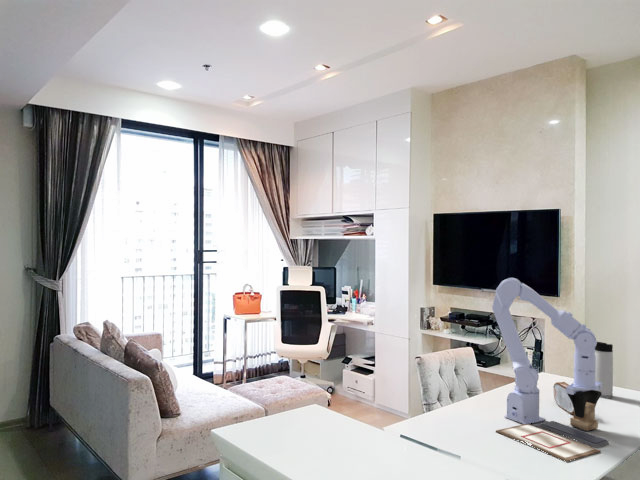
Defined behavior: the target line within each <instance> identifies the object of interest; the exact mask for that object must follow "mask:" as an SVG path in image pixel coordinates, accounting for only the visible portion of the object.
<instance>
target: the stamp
mask: <svg viewBox="0 0 640 480" xmlns="http://www.w3.org/2000/svg"><path fill="white" fill-rule="evenodd" d="M595 416H596V406H595V404H592V403H589V402H586V405H585V412H584V417H583V418H580V417H577V416H576V415H575V412H574V414H573V417H570V420H569V421H570V423H569V425H570V427H572V428H575V429H578V430H581V431H584V432H590V431H594V430H597V429H598V428H599V421H598V420H596V418H595Z"/></svg>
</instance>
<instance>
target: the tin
mask: <svg viewBox="0 0 640 480" xmlns="http://www.w3.org/2000/svg"><path fill="white" fill-rule="evenodd" d="M569 385H570V384H569V383H567V382H565V381H560V382H559V381H558V382H555V383H554V384H553V399H554V402H555V403H556V405H557V406H558V407H559V408H561V409H562V410H564V411H565V412H567V413H568V414H569V413H570V415H574V408H573V404H572V402H571V400H570V398H569V396H568V394H567V393H566V386H569Z"/></svg>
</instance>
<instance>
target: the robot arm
mask: <svg viewBox="0 0 640 480" xmlns="http://www.w3.org/2000/svg"><path fill="white" fill-rule="evenodd" d="M516 298H518V300H521V301H526V302H529V303H530V304H531V305H533V306H535V307H536V309H538V310H539V311H541V312H542V313H543V314H545V315H546V316H548V317H549V318H550V324H551V325H552V327H554V328H555V329H557V331H559V332H560V333H561V334H563V335H564V336H565V337H567V339H569V340H572V341H573V343H574V353H573V382H572V383H571V384H569V386H566V393H567V394H568V396H569V398H570V400H571V402H572V404H573V408H574V412H575V415H576V416H577V417H580V418H583V417H584V412H585V405H586V402H589V403H592V404H595V407H596V406H597V403H598V401H599V400H600V398H601V397H600V396H601V395H602V393H601V392H600V391H597V390H599V389H602V383H601V382H597V381H595V375H596V356H595V347H596V345H597V342H598V341H597V338H596V336H595V334H594V333H593V331H592V330H591V329H590V328H588V327H587V325H586V324H585V323H581V322H580V321H578V320H577V319H576V318H574V317H573V316H574V315H573V313H571V312H570V311H568V312H567V311H566V310H557V308H555V307H554V306H553V305H552V304H551V303H549V302H548V301H547V300H546V299H545V298H544V297H542V296H541V295H540V294H539V293H538V292H537V291H535V290H534V289H533V288H532V287H530V286H528V285H527V284H525V283H524V282H521V281H520V280H519V279H518V278H515V277H507V278H506V279H504V280H501V282H500V283H499V285H498V286H497V287H496V289H495V294H494V297H493V302H492V307H491V309H492V312H493V315H494V317H495V321H496V322H497V325H498V327H499V330H500V334H501V336H502V338H503V341H504V343H505V346H506V349H507V352H508V354H509V356H510V359H511V362H512V363H511V364H512V369H513V372H514V374H515V377H514V383H515V385H514V387H513V390H512V391H511V392H509V393H508V394H507V397H506V414H504V418H507V419H509V420H512V421H515V422H517V423H519V424H521V425H523V424H531V423H532V424H536V423H540V422H544V421H545V422H546V418H544V417H541V416H540V389H539V388H538V380H539V373H538V371H537V370H536V369H535V368H534V367H533V365H532V363H531V361H530V359H529V358H528V356H527V353H526V350H525V347H524V345H523V343H522V340H521V337H520V334H519V332H518V329H517V328H516V323H515V321H514V319H513V316H512V314H511V311H510V308H511V306H512V304H513V303H514V300H515V299H516ZM532 424H531V425H532Z"/></svg>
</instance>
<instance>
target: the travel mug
mask: <svg viewBox="0 0 640 480" xmlns="http://www.w3.org/2000/svg"><path fill="white" fill-rule="evenodd" d="M613 349H614V347H613V344H612V343H610V344H608V343H606V342H601V341H597V345H596V347H595V356H596V375H595V381H597V382H601V383H602V389H599V390H597V391H600V392H601V393H602V395H601V396H600V398H603V399H611V398H613V391H614V389H613V387H614V385H613V383H614V382H613V381H614V380H613V378H614V370H613V369H614V366H613V365H614V364H613V363H614V361H613V360H614V357H613V356H614V352H613V351H614V350H613Z"/></svg>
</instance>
